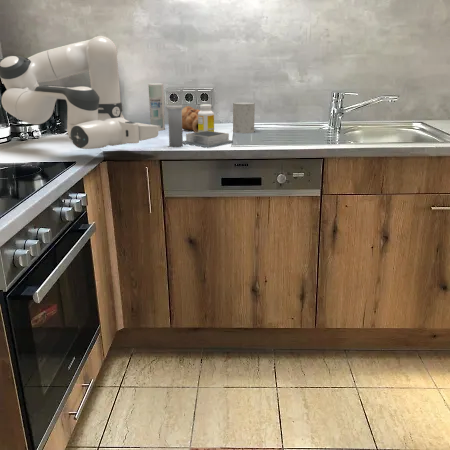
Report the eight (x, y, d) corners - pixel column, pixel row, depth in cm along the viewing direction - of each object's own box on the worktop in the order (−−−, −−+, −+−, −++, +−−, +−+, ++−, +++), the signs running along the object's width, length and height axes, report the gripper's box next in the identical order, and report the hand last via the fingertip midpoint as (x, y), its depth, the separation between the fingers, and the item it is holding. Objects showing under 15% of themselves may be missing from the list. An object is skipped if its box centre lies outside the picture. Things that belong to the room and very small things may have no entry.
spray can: (148, 130, 223) (146, 84, 217) (152, 128, 230) (150, 83, 223) (163, 130, 223) (161, 84, 216) (166, 128, 229) (164, 83, 222)
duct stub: (165, 146, 187) (164, 105, 182) (176, 144, 191) (174, 104, 186) (175, 147, 184) (174, 106, 179) (186, 145, 188) (185, 105, 183)
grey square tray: (181, 143, 192) (181, 134, 191) (206, 138, 202) (206, 129, 201) (208, 147, 183) (208, 138, 182) (233, 142, 193) (233, 133, 192)
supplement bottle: (215, 135, 211) (214, 104, 207) (213, 137, 205) (212, 105, 201) (199, 134, 212) (198, 103, 208) (197, 137, 206) (196, 105, 202)
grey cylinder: (238, 133, 215) (238, 104, 211) (229, 130, 223) (229, 102, 219) (258, 132, 218) (258, 103, 214) (248, 129, 226) (248, 101, 222)
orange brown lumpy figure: (210, 136, 230) (180, 125, 231) (218, 114, 227) (187, 103, 227) (202, 142, 213) (169, 130, 213) (210, 118, 209) (176, 106, 210)
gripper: (100, 137, 174) (132, 132, 183) (138, 144, 161) (170, 138, 171) (99, 118, 171) (131, 115, 181) (137, 124, 159) (169, 119, 169)
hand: (150, 126), depth 176 cm, fingers open, 8 cm apart
